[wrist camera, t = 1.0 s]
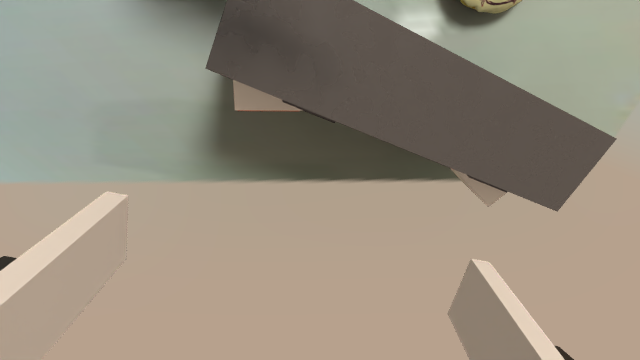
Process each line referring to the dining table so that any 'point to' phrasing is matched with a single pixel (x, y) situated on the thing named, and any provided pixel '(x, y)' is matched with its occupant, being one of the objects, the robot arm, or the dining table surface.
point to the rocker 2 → (480, 189)
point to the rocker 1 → (257, 100)
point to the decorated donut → (490, 5)
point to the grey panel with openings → (406, 94)
